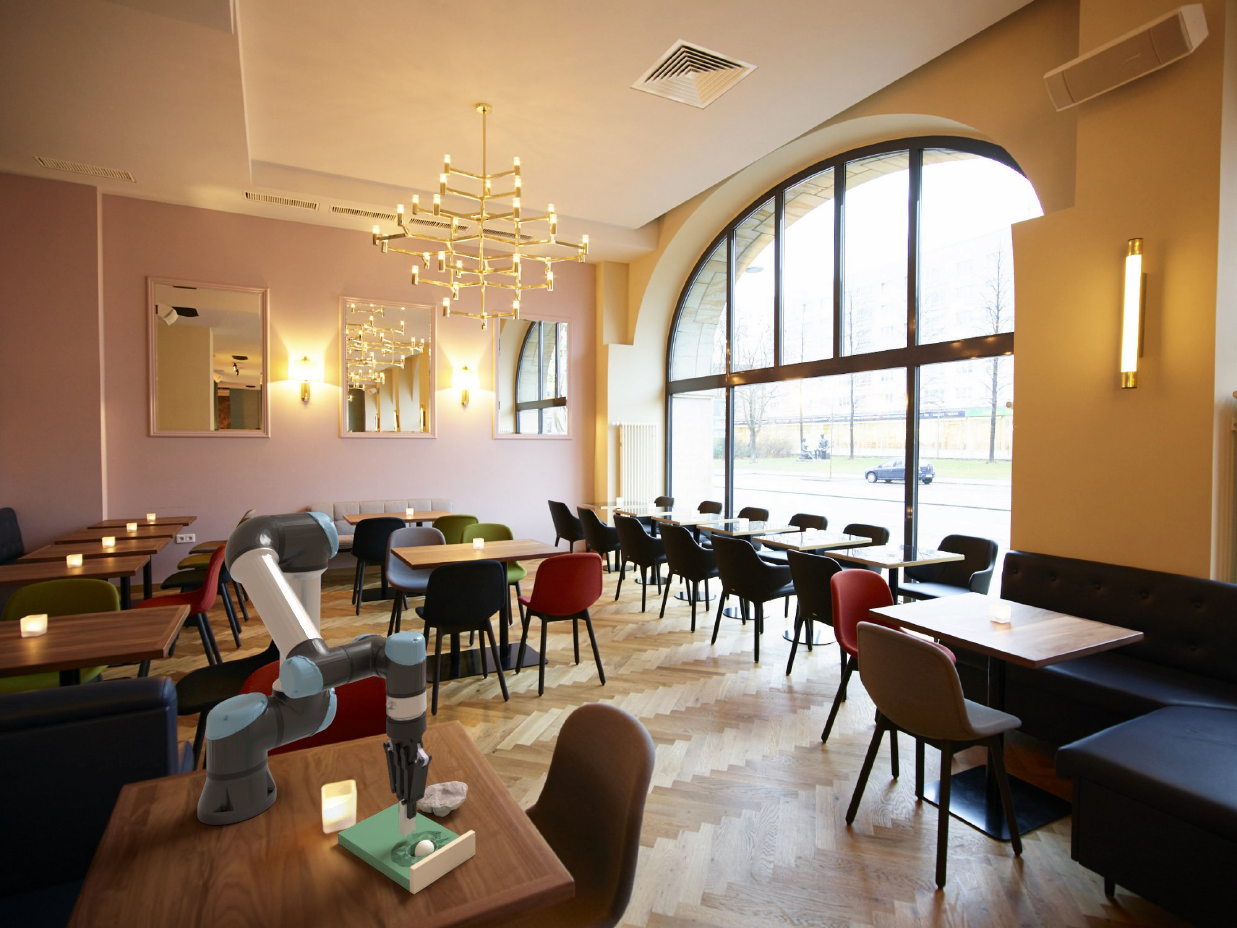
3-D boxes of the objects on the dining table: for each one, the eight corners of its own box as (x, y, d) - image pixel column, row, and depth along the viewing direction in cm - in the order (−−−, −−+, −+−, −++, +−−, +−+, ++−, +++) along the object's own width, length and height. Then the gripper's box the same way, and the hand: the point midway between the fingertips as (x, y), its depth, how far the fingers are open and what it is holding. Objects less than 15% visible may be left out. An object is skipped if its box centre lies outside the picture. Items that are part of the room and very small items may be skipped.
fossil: (460, 808, 134) (418, 788, 135) (450, 833, 135) (408, 813, 136) (474, 783, 143) (435, 765, 144) (465, 807, 144) (425, 789, 144)
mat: (338, 842, 127) (337, 821, 127) (398, 811, 138) (398, 791, 138) (414, 894, 112) (413, 869, 112) (475, 854, 123) (475, 831, 123)
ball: (408, 853, 121) (414, 841, 120) (424, 843, 124) (430, 832, 123) (418, 869, 120) (424, 857, 118) (434, 859, 123) (440, 848, 121)
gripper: (370, 711, 125) (371, 829, 125) (410, 727, 117) (411, 853, 118) (403, 699, 131) (404, 812, 131) (443, 714, 123) (444, 834, 124)
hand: (407, 831), depth 124 cm, fingers closed
